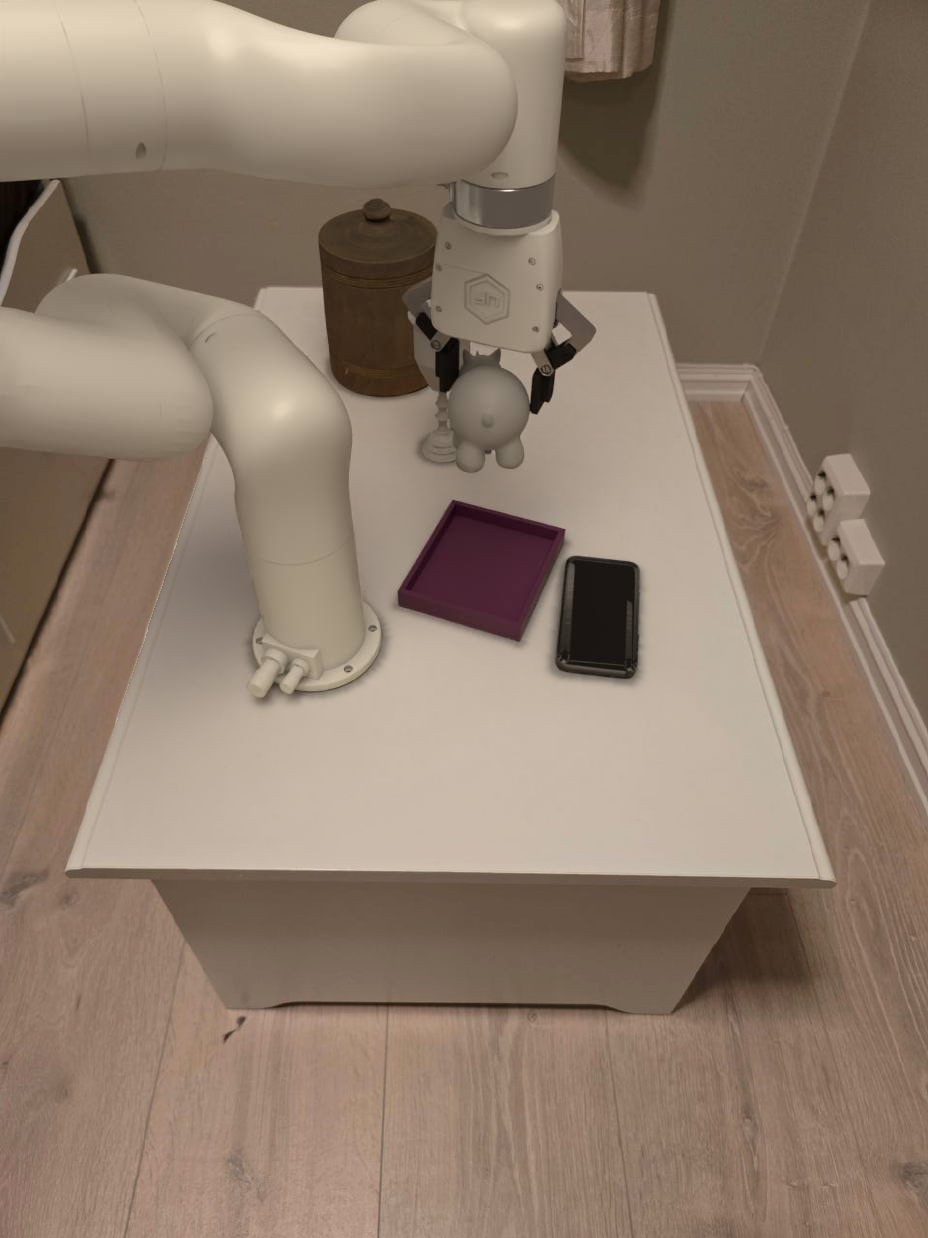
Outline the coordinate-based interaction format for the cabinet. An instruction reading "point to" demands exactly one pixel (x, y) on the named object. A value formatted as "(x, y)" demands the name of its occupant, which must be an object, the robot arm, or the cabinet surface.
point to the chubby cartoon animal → (487, 413)
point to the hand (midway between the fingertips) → (493, 393)
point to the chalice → (442, 437)
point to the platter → (483, 569)
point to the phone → (599, 617)
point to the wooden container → (374, 295)
